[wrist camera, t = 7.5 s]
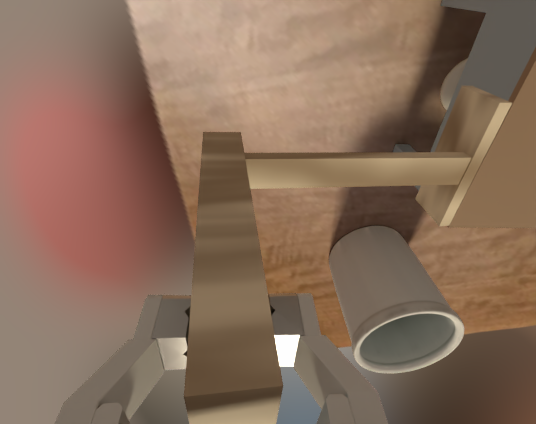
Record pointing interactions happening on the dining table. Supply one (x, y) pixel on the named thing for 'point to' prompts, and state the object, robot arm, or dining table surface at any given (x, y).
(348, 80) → the dining table surface
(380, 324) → the utensil holder
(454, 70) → the smooth oval stone
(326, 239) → the dining table surface
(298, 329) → the robot arm
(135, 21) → the dining table surface
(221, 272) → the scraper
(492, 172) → the wooden top stool
